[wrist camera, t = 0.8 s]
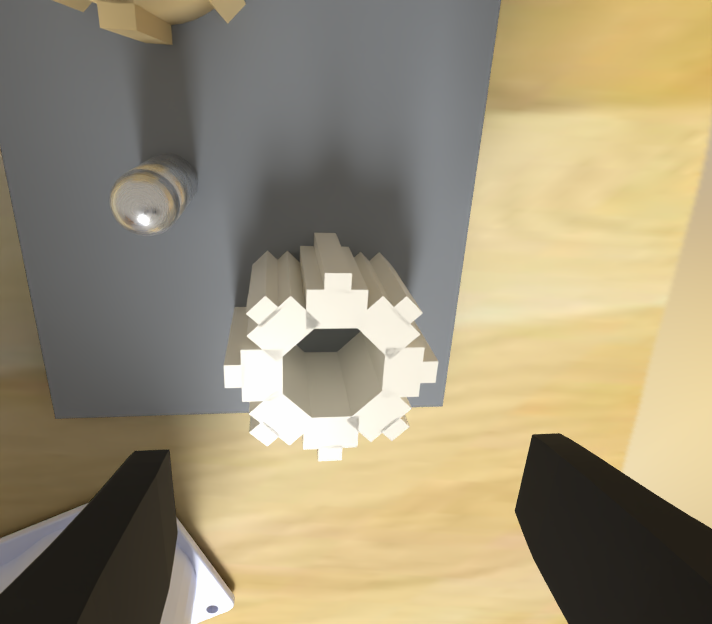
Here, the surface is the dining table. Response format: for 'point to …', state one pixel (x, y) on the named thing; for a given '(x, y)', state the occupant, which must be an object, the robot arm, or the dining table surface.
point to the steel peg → (153, 194)
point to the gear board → (231, 173)
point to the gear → (327, 369)
